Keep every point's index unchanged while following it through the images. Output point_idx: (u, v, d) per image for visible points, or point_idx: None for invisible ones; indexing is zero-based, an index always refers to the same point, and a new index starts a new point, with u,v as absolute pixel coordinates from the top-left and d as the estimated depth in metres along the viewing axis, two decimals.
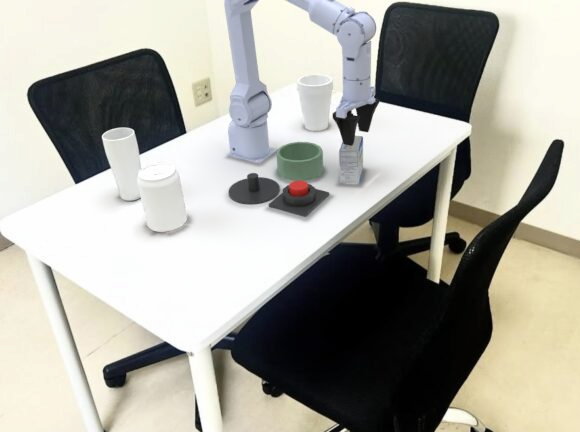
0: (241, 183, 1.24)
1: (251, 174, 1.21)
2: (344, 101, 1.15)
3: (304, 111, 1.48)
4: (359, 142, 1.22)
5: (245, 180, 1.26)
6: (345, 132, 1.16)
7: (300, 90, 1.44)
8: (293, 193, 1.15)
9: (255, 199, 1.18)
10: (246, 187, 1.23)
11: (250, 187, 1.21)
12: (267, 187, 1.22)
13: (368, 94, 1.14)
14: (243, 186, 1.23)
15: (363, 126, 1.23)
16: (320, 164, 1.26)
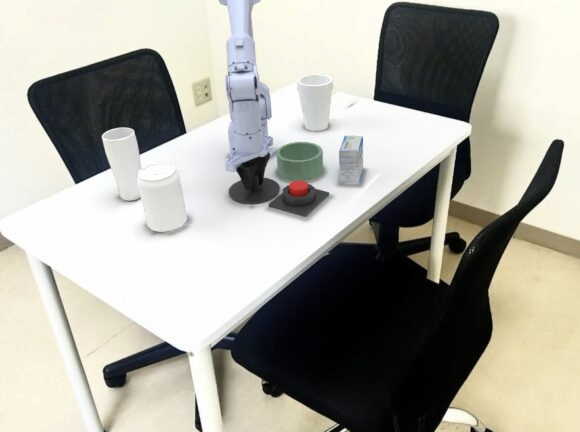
0: (241, 183, 1.24)
1: None
2: (236, 153, 1.16)
3: (304, 111, 1.48)
4: (359, 142, 1.22)
5: None
6: (245, 179, 1.19)
7: (300, 90, 1.44)
8: (293, 193, 1.15)
9: (255, 199, 1.18)
10: None
11: None
12: (267, 187, 1.22)
13: (259, 147, 1.15)
14: (243, 186, 1.23)
15: None
16: (320, 164, 1.26)
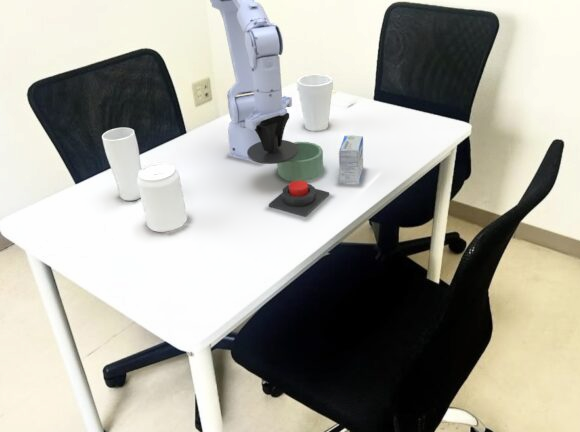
0: (259, 145, 1.24)
1: None
2: (256, 112, 1.15)
3: (304, 111, 1.48)
4: (359, 142, 1.22)
5: None
6: (264, 139, 1.18)
7: (300, 90, 1.44)
8: (293, 193, 1.15)
9: (274, 159, 1.18)
10: None
11: None
12: (286, 148, 1.22)
13: (279, 105, 1.14)
14: (261, 147, 1.23)
15: None
16: (320, 164, 1.26)
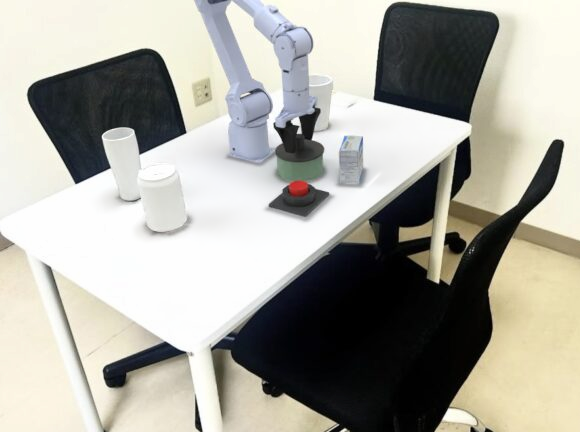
0: None
1: (297, 134, 1.25)
2: (284, 111, 1.20)
3: None
4: (359, 142, 1.22)
5: None
6: (286, 141, 1.22)
7: None
8: (293, 193, 1.15)
9: (302, 158, 1.23)
10: None
11: (296, 147, 1.25)
12: (312, 148, 1.27)
13: (307, 104, 1.19)
14: None
15: (306, 134, 1.28)
16: (320, 164, 1.26)
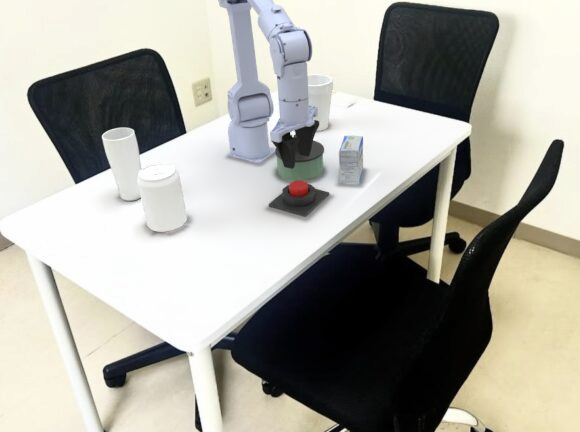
0: None
1: None
2: (281, 123, 1.07)
3: None
4: (359, 142, 1.22)
5: None
6: (285, 154, 1.09)
7: None
8: (293, 193, 1.15)
9: (302, 158, 1.23)
10: None
11: None
12: (312, 148, 1.27)
13: (306, 116, 1.06)
14: None
15: (303, 150, 1.14)
16: (320, 164, 1.26)
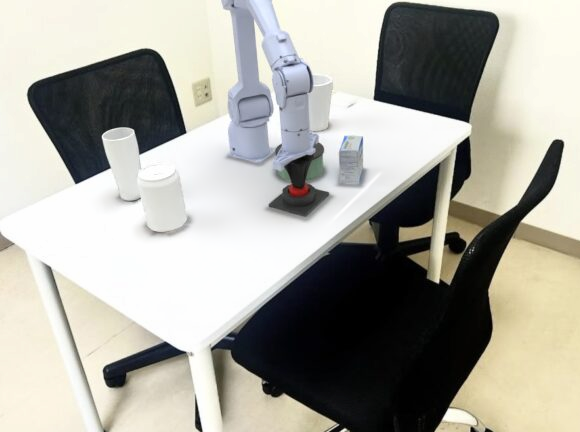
0: None
1: None
2: (283, 151, 1.10)
3: None
4: (359, 142, 1.22)
5: None
6: (294, 176, 1.14)
7: None
8: (293, 195, 1.15)
9: None
10: None
11: None
12: None
13: (307, 145, 1.09)
14: None
15: None
16: (320, 164, 1.26)
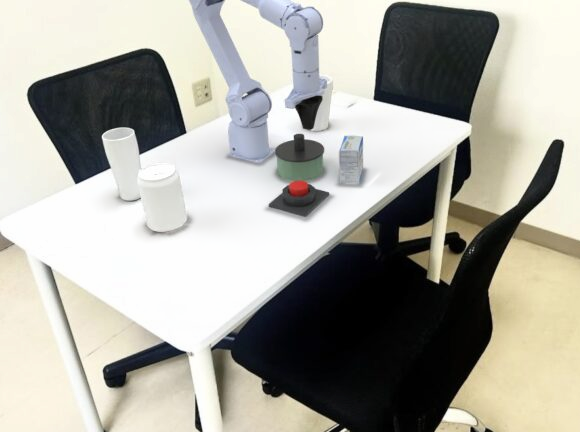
0: (286, 144, 1.29)
1: (297, 134, 1.25)
2: (294, 93, 1.20)
3: None
4: (359, 142, 1.22)
5: (290, 142, 1.30)
6: (304, 117, 1.24)
7: None
8: (293, 193, 1.15)
9: (302, 158, 1.23)
10: (292, 148, 1.28)
11: (296, 147, 1.25)
12: (312, 148, 1.27)
13: (317, 86, 1.19)
14: (288, 147, 1.28)
15: None
16: (320, 164, 1.26)
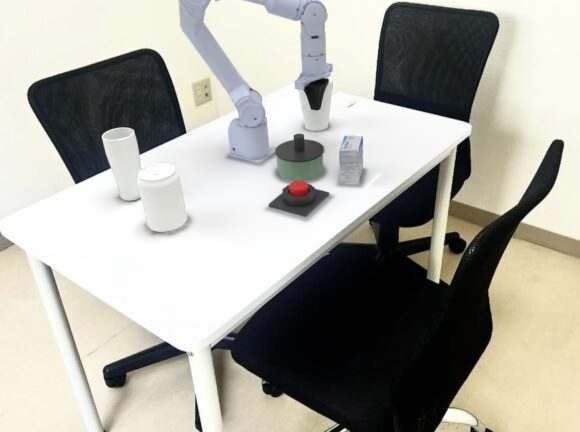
0: (286, 144, 1.29)
1: (297, 134, 1.25)
2: (303, 75, 1.29)
3: (304, 111, 1.48)
4: (359, 142, 1.22)
5: (290, 142, 1.30)
6: (312, 98, 1.33)
7: (300, 90, 1.44)
8: (293, 193, 1.15)
9: (302, 158, 1.23)
10: (292, 148, 1.28)
11: (296, 147, 1.25)
12: (312, 148, 1.27)
13: (324, 69, 1.28)
14: (288, 147, 1.28)
15: None
16: (320, 164, 1.26)
